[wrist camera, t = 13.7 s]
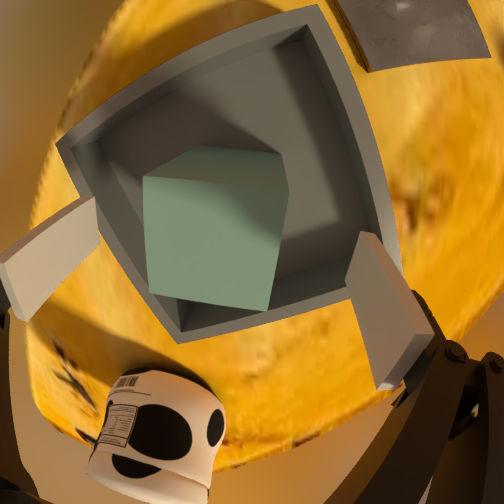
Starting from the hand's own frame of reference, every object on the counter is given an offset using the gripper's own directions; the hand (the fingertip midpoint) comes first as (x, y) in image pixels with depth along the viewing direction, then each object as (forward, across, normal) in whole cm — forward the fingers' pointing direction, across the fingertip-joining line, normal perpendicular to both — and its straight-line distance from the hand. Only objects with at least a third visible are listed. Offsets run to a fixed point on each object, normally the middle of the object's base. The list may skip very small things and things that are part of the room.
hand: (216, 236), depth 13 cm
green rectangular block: (+9, 0, 0) cm, 9 cm away
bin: (+10, 0, 0) cm, 10 cm away
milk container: (+10, -7, -32) cm, 34 cm away
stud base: (+10, +11, +20) cm, 25 cm away
